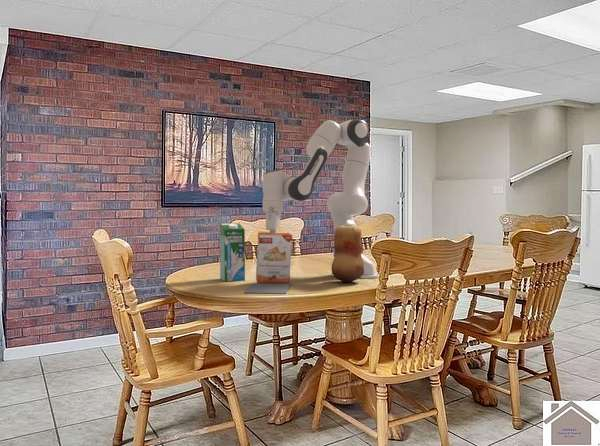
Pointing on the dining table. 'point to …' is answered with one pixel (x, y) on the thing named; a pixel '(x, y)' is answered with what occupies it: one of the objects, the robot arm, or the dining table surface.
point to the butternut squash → (347, 253)
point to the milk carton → (232, 252)
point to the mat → (268, 288)
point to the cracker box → (273, 257)
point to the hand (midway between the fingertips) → (272, 239)
